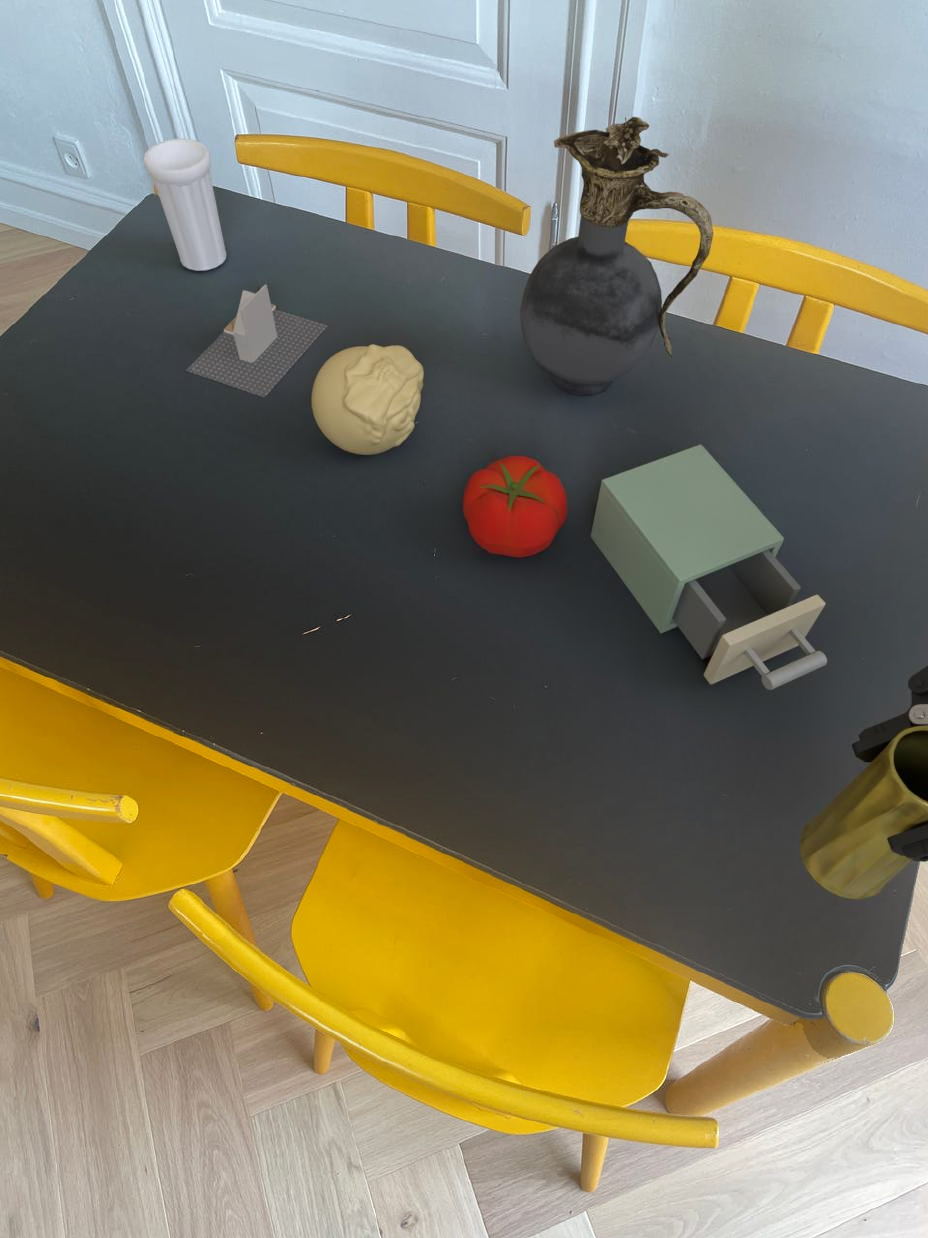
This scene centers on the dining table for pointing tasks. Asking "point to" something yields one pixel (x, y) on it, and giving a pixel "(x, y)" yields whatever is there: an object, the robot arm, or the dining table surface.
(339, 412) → the sculpture
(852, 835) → the vase
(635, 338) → the pitcher
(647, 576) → the cabinet
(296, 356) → the architectural model
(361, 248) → the dining table surface
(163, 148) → the cup
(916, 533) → the dining table surface
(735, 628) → the drawer
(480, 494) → the tomato
